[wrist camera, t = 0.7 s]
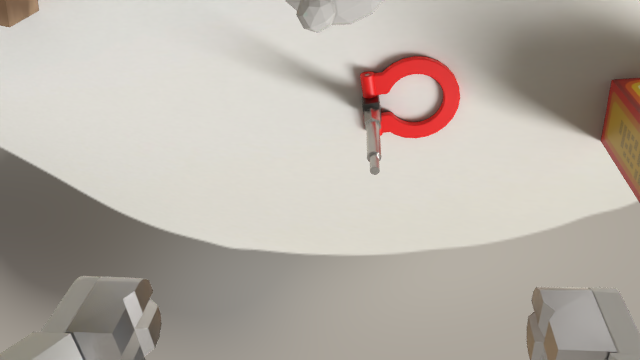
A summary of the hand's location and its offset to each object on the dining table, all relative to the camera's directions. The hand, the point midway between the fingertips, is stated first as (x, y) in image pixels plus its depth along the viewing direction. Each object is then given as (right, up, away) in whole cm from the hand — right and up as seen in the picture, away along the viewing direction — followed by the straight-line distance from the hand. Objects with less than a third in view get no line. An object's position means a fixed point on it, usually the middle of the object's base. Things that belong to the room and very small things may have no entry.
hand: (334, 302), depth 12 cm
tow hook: (+9, +11, +43) cm, 45 cm away
